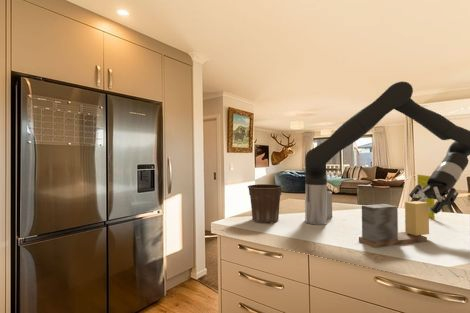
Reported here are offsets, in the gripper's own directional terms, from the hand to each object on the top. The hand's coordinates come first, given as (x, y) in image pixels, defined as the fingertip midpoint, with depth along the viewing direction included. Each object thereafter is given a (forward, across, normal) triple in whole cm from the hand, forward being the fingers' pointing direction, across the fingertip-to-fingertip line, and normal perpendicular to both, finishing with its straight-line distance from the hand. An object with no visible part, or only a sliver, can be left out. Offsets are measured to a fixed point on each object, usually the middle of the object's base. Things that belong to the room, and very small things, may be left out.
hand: (421, 209), depth 92 cm
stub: (+7, 0, +4) cm, 9 cm away
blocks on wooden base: (+16, 0, -2) cm, 17 cm away
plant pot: (+38, -42, -24) cm, 61 cm away
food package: (-18, -26, +32) cm, 45 cm away
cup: (+16, -42, -2) cm, 45 cm away
